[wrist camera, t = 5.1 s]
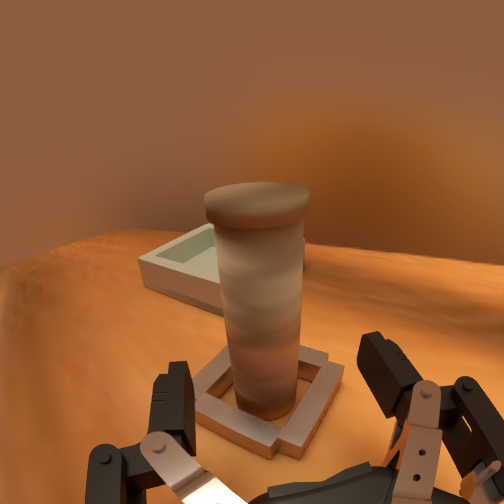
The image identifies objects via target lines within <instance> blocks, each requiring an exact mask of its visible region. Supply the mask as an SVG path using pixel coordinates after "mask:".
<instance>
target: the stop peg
mask: <svg viewBox="0 0 504 504" xmlns="http://www.w3.org/2000/svg"><path fill="white" fill-rule="evenodd" d="M204 199H205V209H206V218H207V220H208V221H209V222H211V223H213V226H214V236H215V245H216V254H217V263H218V272H219V280H220V288H221V296H222V304H223V312H224V320H225V327H226V334H227V342H228V349H229V356H230V363H231V369H232V376H233V383H234V389H235V396H236V402H237V406H238V408H239V409H240V410H242V411H244V412H247V413H249V414H251V415H253V416H255V417H258V418H260V419H262V420H265V421H272V420H276V419H279V418H281V417H283V416H285V415H286V414H287V413H289V412H290V410H291V409H292V408H293V406H294V403H295V398H296V386H297V373H298V359H299V343H300V324H301V303H302V274H303V219H305V218H306V217H308V215H309V213H310V191H309V190H308V189H307V188H306V187H303V186H300V185H295V184H290V183H281V182H251V183H241V184H234V185H228V186H224V187H220V188H216V189H214V190H211V191H209V192H207V193H206V194H205V195H204Z"/></svg>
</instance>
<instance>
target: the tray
mask: <svg viewBox="0 0 504 504" xmlns="http://www.w3.org/2000/svg"><path fill="white" fill-rule="evenodd" d="M304 256H305V239H303V268H304ZM138 262H139V267H140V271H141V275H142V279H143V283H144V286H145V287H148V288H150V289H152V290H155V291H157V292H160V293H162V294H165V295H167V296H170V297H172V298H175V299H177V300H180V301H182V302H185V303H188V304H190V305H193V306H195V307H198V308H201V309H203V310H206V311H209V312H212V313H214V314H217V315H220V316H223V317H224V312H223V304H222V296H221V288H220V280H219V272H218V263H217V254H216V245H215V236H214V226H213V224H206V225H204V226H201V227H199V228H197V229H195V230H193V231H191V232H189V233H187V234H185V235H183V236H181V237H179V238H177V239H175V240H173V241H171V242H169V243H167V244H165V245H163V246H161V247H159V248H157V249H155V250H153V251H151V252H149V253H147V254H145V255H143V256H141V257H139V258H138Z"/></svg>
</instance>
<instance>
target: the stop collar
mask: <svg viewBox="0 0 504 504" xmlns="http://www.w3.org/2000/svg"><path fill="white" fill-rule="evenodd" d="M328 355H329V353H325V352H322V351H318V350H315V349H311V348H308V347H305V346H302V345H299V359H298V373H297V377H299V378H302V379H305V380H308V381H311V382H312V384H311V385H310V387H309V389H308V390H307V392H306V394H305V395H304V397H303V398H302V400H301V402H300V403H299V405H298V406H297V408H296V410H295V411H294V413H293V414H292V416H291V417H290V419H289V420H288V422H287V423H286V425H285V426H284V428H282V427H279V426H277V425H274V424H272V423H269V422H267V421H265V420H262V419H260V418H258V417H255V416H253V415H251V414H249V413H247V412H244V411H242V410H240V409H238V408H236V407H234V406H232V405H230V404H227V403H225V402H223V401H221V400H219V398H220V397H221V396H222V394H223V393H224V392H225V391H226V390H227V389H228V388H229V387H230V386H231V385H232V383H233V376H232V369H231V363H230V356H229V349H228V345H227V346H226V347H225V348H224V349H223V350H222V351H221V352H220V353H219V354H218V355H217V356H216V357H215V358H213V359H212V360H211V361H210V362H209V363H208V364H207V365H206V366H205V367H204V368H203V369H202V370H201V371H200V372H199V373H198V374H197V375H196V376H195V377H194V378H192V381H193V385H194V392H195V421H196V423H198V424H200V425H202V426H203V427H205V428H207V429H209V430H210V431H212V432H214V433H216V434H218V435H220V436H222V437H223V438H225V439H227V440H229V441H231V442H233V443H235V444H237V445H239V446H241V447H243V448H245V449H247V450H249V451H251V452H254V453H256V454H258V455H260V456H262V457H265V458H267V459H269V460H271V459H272V457H273V456H274V454H275V453H276V451H277V452H280V453H282V454H285V455H287V456H290V457H292V458H295V459H297V460H299V459H300V458H301V456H302V454H303V453H304V451H305V449H306V448H307V446H308V444H309V442H310V441H311V439H312V437H313V435H314V434H315V432H316V430H317V428H318V427H319V425H320V423H321V421H322V419H323V417H324V415H325V414H326V412H327V410H328V408H329V406H330V404H331V402H332V400H333V398H334V396H335V394H336V392H337V390H338V388H339V386H340V384H341V380H342V376H343V372H344V367H345V366H344V365H340V364H337V363H333V362H330V361H328Z"/></svg>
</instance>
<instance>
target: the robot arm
mask: <svg viewBox="0 0 504 504" xmlns="http://www.w3.org/2000/svg"><path fill="white" fill-rule="evenodd" d="M357 366H358V369H359V371H360V372H361V374H362V376H363V378H364V379H365V381H366V383H367V385H368V386H369V388H370V390H371V392H372V393H373V395H374V397H375V399H376V401H377V402H378V404H379V406H380V408H381V410H382V411H383V413H384V415H385V417H386V419H388V418H390V417H393V416H395V417H396V419H397V420H396V422H395V426H394V430H393V434H392V437H391V441H390V445H389V448H388V452H387V455H386V457H385V459H384V461H383V463H382V466H370V463H369V461H368V462H365V463H362V464H360V465H357V466H353V467H350V468H347V469H345V470H343V471H341V472H339V473H338V474H336V475H334V476H332V477H330V478H328V479H327V480H325V481H322V482H293V483H288V484H282V485H277V486H271V487H267V489H268V492H267V493H264V494H262V495H260V496H258V497H256V498H254V499H253V500H251V501H250V502H249V503H248V504H500V503H502V502H503V501H504V420H503V418H502V417H501V415H500V414H499V412H498V411H497V409H496V408H495V407H494V405H493V404H492V402H491V401H490V399H489V398H488V397H487V395H486V394H485V392H484V391H483V390H482V388H481V387H480V386H479V384H478V383H477V382H476V380H474V379H473V378H471V377H468V376H462V377H460V378H458V379H457V380H456V382H455V384H454V385H450V386H441V387H439V386H438V385H437V384H436V383H434V382H432V381H429V380H423V378H422V377H421V376H420V374H419V373H418V371H417V370H416V369H415V367H414V366H413V365H412V363H411V362H410V361H409V359H407V357H406V355H405V354H404V353H403V351H402V350H401V349H400V347H399V346H398V345H397V344H396V343H394V342H393V341H391V340H390V339H387V340H385V339H384V337H383V336H382V335H381V333H380V332H378V331H376V332H372V333H368V334H363V335H362V338H361V342H360V346H359V351H358V355H357ZM152 393H153V395H152V400H151V401H152V402H151V409H150V418H149V427H148V433H147V435H146V436H145V437H144V438H143V439H142V441H141V442H139V443H138V444H136V445H133V446H129V447H125V448H120V449H117V448H116V447H115V446H113V445H110V444H101V445H98V446H96V447H95V448H94V449H93V450H92V451H91V453H90V456H89V463H88V471H87V481H86V493H85V504H147V501H146V489H149V488H153V487H157V486H161V485H165V484H167V485H168V486H169V487H170V488H171V489H172V490H173V491H174V493H175V494H176V495H177V496H178V497H179V498H180V499H181V500H182V501H183V502H184V503H185V504H247V503H246V502H244V501H243V500H242V499H241V498H239V497H238V496H237V495H236V494H235V493H233V492H232V491H231V490H230V489H229V488H227V487H226V486H225V485H224V484H223V483H222V482H221V481H219V480H218V479H217V478H216V477H215V476H214V475H213V474H211V473H210V472H209V471H206V470H204V469H203V468H202V467H201V466H200V465H199V464H198V463H197V462H196V461H195V460H194V459H193V458H192V457H191V456H196V433H195V392H194V385H193V381H192V378H191V374H190V371H189V367H188V363H187V361H177V362H170V363H169V370H168V374H159V376H158V377H157V379H156V380H155V382H154V385H153V392H152ZM462 416H464V418H465V419H466V421H467V423H468V424H469V426H470V428H471V430H472V433H471V431H470V429H469V427H468V426H467V424H466V423H465V421H464V419H463V418H462ZM441 440H443V442H444V444H445V446H446V448H447V450H448V452H449V454H450V456H451V457H452V459H453V461H454V463H455V465H456V467H457V469H458V471H459V473H460V475H461V478H462V481H461V486H460V488H461V489H460V490H459V494H460V496H462V497H459V496H456V495H453V494H451V493H448V492H445V491H443V490H440V489H438V488H435V487H433V486H434V481H435V476H436V471H437V466H438V460H439V454H440V447H441Z"/></svg>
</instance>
